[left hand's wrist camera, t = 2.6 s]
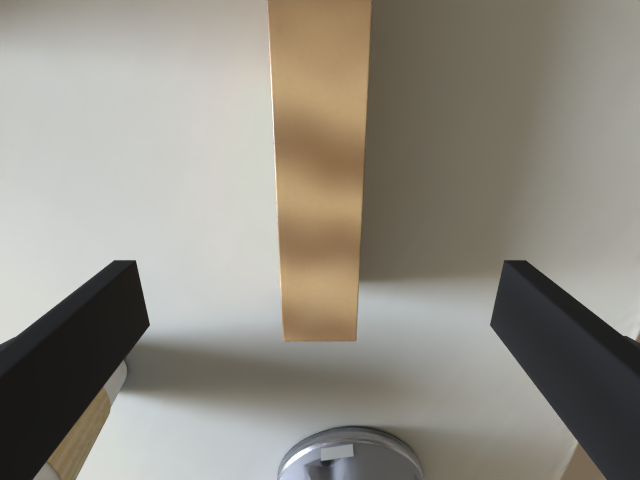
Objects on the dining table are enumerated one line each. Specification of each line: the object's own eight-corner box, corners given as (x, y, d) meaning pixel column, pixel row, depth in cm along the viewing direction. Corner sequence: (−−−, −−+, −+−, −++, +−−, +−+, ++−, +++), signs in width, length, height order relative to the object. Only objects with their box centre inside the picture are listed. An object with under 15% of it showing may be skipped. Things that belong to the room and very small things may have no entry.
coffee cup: (57, 300, 29) (-189, 488, 15) (165, 355, 31) (39, 564, 17) (20, 376, 32) (-213, 592, 18) (121, 422, 34) (-17, 646, 20)
